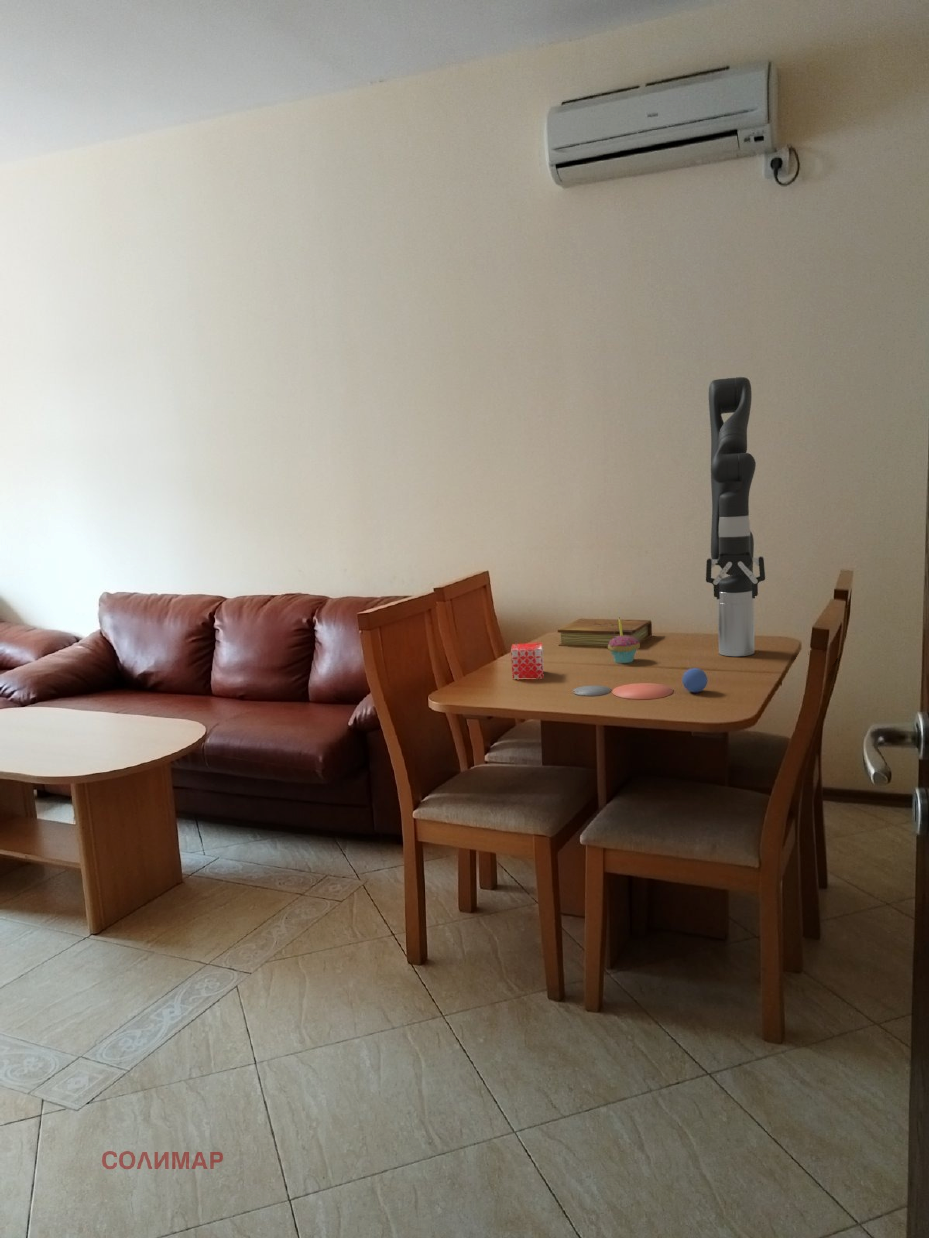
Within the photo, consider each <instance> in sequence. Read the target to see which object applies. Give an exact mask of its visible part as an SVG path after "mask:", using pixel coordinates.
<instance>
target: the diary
mask: <svg viewBox="0 0 929 1238" xmlns="http://www.w3.org/2000/svg"><path fill="white" fill-rule="evenodd" d="M620 620H621V625H622V633H623V635H624V636H631V637H634V638H635V639H637V640H638V641H639V643H640V644H642V643H643V642H645V641H646V640H648V639H650V638H652V637H653V628H652V627H653V625H652V624H653V623H652V620H651V619H620ZM557 633H560V642H561V643H559V644H558V647H577V648H596V649H597V648H598V649H599V648H600V649H601V648H602V649H608V644H609V642H610V640H611V639H612V638H614V637H616V636H620V628H619V618H618V619H614V618H609V619H608V618H579V619H577V620H574V621H573V622H570V623H568V624H565V625H564V626H562V627H560V628H558V629H557Z"/></svg>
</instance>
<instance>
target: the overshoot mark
mask: <svg viewBox="0 0 929 1238" xmlns="http://www.w3.org/2000/svg"><path fill="white" fill-rule="evenodd" d="M573 691H575V692H573ZM577 691H578V692H577ZM610 692H612V690H611V688H610V687H609V686H604V685H583V686H579V687H576V688H574V689H573V690H572V693H573V694H574V693H575V694H574V695H577V696H580V695H585V696H584V697H597V696H604V695H607V694H610Z"/></svg>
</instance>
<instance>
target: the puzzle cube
mask: <svg viewBox="0 0 929 1238" xmlns="http://www.w3.org/2000/svg"><path fill="white" fill-rule="evenodd" d="M510 655H511V656H510V657H511V658H510V659H511V672H512V679H513V678H543V679H544V674H543V671H544V672H545V670H544V669H545V666H544V651H543V642H531V643H514V644H513V643H512V644H511V649H510Z"/></svg>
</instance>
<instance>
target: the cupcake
mask: <svg viewBox="0 0 929 1238" xmlns="http://www.w3.org/2000/svg"><path fill="white" fill-rule="evenodd" d="M618 619H619V628H620V636H616V637H614V638H612V639H611V640H610V642H609V644H608V648H607V649H608V650H609V651H610V652H611V655H612V656H613V659H614V662H615V663H617V664H630V663H632V662H634V658H635V654H636V651H637V650H638V649H640V646H641V643H639V641H638V640H637V639H635V638H634V637H631V636H624V635H623V633H622V625H621V620H622V619H621V618H620V616H618Z"/></svg>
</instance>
